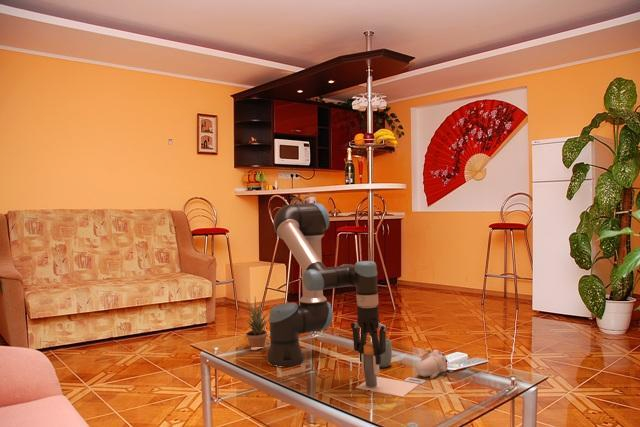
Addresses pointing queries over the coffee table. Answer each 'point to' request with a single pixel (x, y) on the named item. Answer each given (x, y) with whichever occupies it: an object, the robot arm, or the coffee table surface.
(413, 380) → the plate
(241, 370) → the coffee table surface
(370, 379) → the marker
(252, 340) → the potted plant
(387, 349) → the cup
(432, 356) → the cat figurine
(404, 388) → the paper
